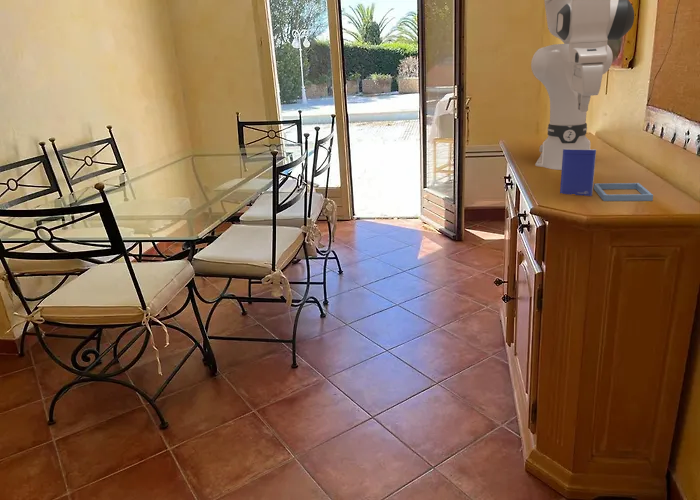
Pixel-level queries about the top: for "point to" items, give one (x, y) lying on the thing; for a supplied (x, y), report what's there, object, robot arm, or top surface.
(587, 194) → the hard drive
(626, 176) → the top surface
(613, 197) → the frame
